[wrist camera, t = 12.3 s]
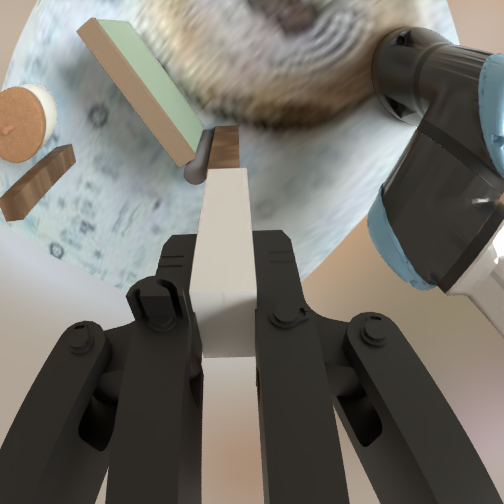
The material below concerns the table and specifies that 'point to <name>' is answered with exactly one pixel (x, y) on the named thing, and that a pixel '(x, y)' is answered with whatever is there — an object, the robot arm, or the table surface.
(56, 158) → the gate posts
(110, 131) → the table surface
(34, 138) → the lidded jar
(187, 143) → the gate
